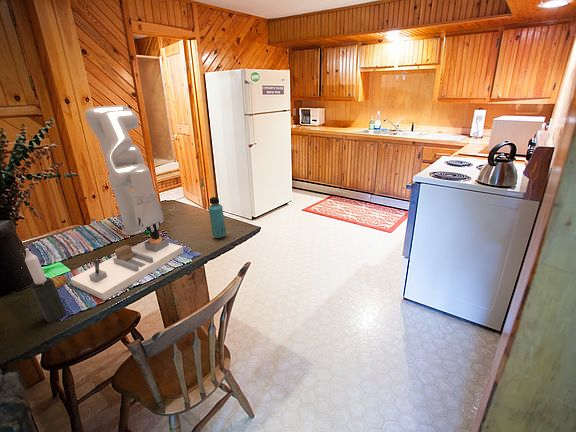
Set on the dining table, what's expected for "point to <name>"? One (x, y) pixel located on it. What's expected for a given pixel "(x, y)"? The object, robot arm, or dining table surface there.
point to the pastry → (59, 281)
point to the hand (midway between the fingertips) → (155, 238)
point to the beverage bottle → (217, 218)
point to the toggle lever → (97, 265)
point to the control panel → (126, 269)
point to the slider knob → (124, 253)
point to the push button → (153, 241)
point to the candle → (44, 290)
